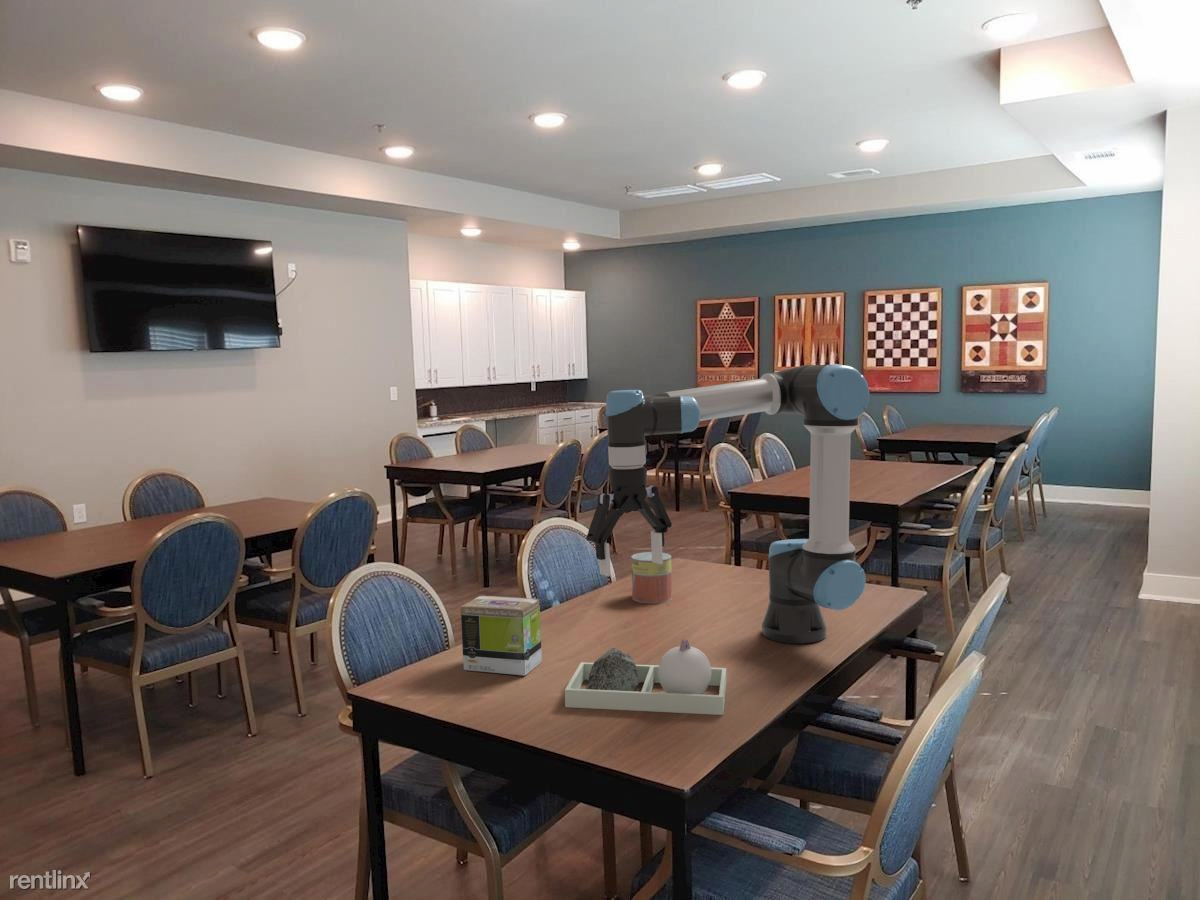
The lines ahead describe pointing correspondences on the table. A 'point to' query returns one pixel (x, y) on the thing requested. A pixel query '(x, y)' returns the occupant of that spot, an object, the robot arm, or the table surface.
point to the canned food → (651, 578)
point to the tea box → (501, 635)
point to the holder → (645, 694)
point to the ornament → (684, 670)
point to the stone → (614, 672)
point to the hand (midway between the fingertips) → (631, 568)
